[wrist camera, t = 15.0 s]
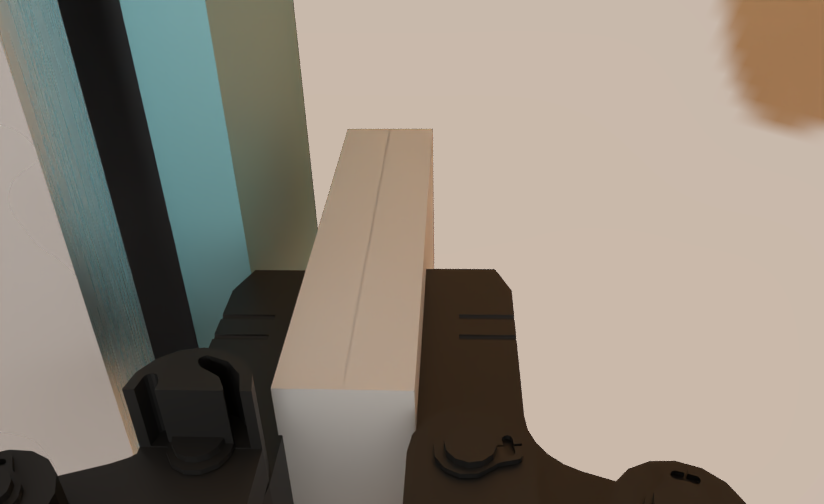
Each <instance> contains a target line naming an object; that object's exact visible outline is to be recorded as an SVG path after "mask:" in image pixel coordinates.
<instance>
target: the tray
mask: <svg viewBox="0 0 824 504" xmlns="http://www.w3.org/2000/svg"><path fill="white" fill-rule="evenodd" d="M57 2H58V5H59V9H60V13H61V16H62V20H63V24H64V27H65V31H66V35H67V38H68V42H69V46H70V49H71V53H72V57H73V60H74V64H75V68H76V71H77V75H78V79H79V82H80V86H81V90H82V94H83V97H84V101H85V105H86V108H87V112H88V116H89V119H90V123H91V127H92V130H93V134H94V138H95V141H96V145H97V149H98V152H99V156H100V160H101V163H102V167H103V171H104V174H105V178H106V182H107V185H108V189H109V193H110V196H111V200H112V204H113V207H114V211H115V215H116V218H117V222H118V226H119V230H120V233H121V237H122V241H123V244H124V248H125V252H126V255H127V259H128V263H129V266H130V270H131V274H132V277H133V281H134V285H135V288H136V292H137V296H138V299H139V303H140V307H141V310H142V314H143V318H144V321H145V325H146V329H147V332H148V336H149V340H150V343H151V347H152V351H153V354H154V358H155V359H157V358H160V357H163V356H165V355H168V354H171V353H174V352H177V351H179V350H187V349H196V348H204V347H205V348H209V345H210V343H211V341H212V339H214V337H215V335H214V334H215V331H216V329H217V327H218V324H219V322H220V319H223V312H224V310H225V308H226V305H227V303H228V301H229V298H230V296H231V294H232V291H233V290H234V289H235V288H236V287H237V286H238V285H239V284H240V283H242V282H243V281H244V280H245V279H246V278H247V277H248V276H249V275H250V274H252V273H253V272H254V271H255V270H306V268H307V265H308V261H309V258H310V255H311V251H312V248H313V245H314V241H315V238H316V235H317V231H318V227H317V218H316V209H315V200H314V190H313V181H312V172H311V162H310V153H309V143H308V135H307V125H306V115H305V107H304V97H303V87H302V78H301V69H300V59H299V51H298V41H297V32H296V22H295V14H294V3H293V0H57Z"/></svg>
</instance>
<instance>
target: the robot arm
mask: <svg viewBox="0 0 824 504" xmlns="http://www.w3.org/2000/svg"><path fill="white" fill-rule="evenodd" d="M214 335H215V337H214V339H212V341H211V343H210V345H209V348H205V347H204V348H196V349H187V350H179V351H177V352H174V353H171V354H168V355H165V356H163V357H160V358H157V359H155V360H154V361H152V362H150V363H149V364H147V365H146V366H144V367H143V368H141V369H140V370H138V371H137V372H135V374H134V375H133V376H132V377H131V379H130V380H129V381H128V382H127V384H126V385H125V386H124V387H123V388H122V391H123V394H124V398H125V401H126V404H127V407H128V410H129V414H130V417H131V420H132V423H133V426H134V430H135V433H136V436H137V439H138V443H139V446H140V448H139V450H138V452H137V454H135V455H133V456H131V457H129V458H126V459H123V460H119V461H116V462H113V463H110V464H106V465H102V466H98V467H93V468H89V469H85V470H80V471H76V472H72V473H68V474H63V475H59V476H58V475H57V473H56V471H55V469H54V468H53V466H52V464H51V462H50V461H49V459H47V458H45V457H43V456H41V455H39V454H37V453H35V452H33V451H25V450H5V451H1V452H0V504H746V503H745V502H744V501H743V500H742V499H741V498H740V497H739V495H737V493H736V492H735V491H734V490H733V489H732V488H731V487H730V486H729V485H728V484H727V483H726V482H724V481H723V480H721V479H719V478H717V477H716V476H714V475H712V474H710V473H709V472H707V471H705V470H704V469H702V468H698V467H695V466H691V465H688V464H684V463H680V462H676V461H649V462H646V463H644V464H641V465H638V466H635V467H633V468H630V469H628V470H627V471H626V472H625V473H624V474H623V475H622V476H621V477H620V478H619V479H618V480H617V481H612V480H609V479H606V478H602V477H599V476H595V475H592V474H589V473H585V472H582V471H579V470H577V469H574V468H572V467H569V466H567V465H564V464H562V463H561V462H559V461H557V460H556V459H554V458H553V457H551V456H550V455H548V454H547V453H546V452H545V451H544V450H543V449H542V448H541V447H540V446H539V445H538V444H537V443H536V442H535V441H534V439H533V437H532V436H531V434H530V433H529V431H528V429H527V426H526V422H525V418H524V412H523V402H522V392H521V381H520V372H519V362H518V352H517V343H516V331H515V322H514V311H513V301H512V291H511V289H510V288H509V287H508V286H507V284H506V283H505V282H504V280H503V279H502V278H501V277H500V275H499V274H498V273H497V272H496V270H494V269H492V270H491V269H490V270H489V269H487V270H486V269H434V212H433V130H432V129H348V131H347V134H346V137H345V141H344V144H343V147H342V151H341V154H340V157H339V161H338V164H337V167H336V171H335V174H334V178H333V181H332V184H331V188H330V191H329V194H328V198H327V201H326V204H325V208H324V211H323V215H322V218H321V221H320V225H319V228H318V231H317V235H316V238H315V241H314V245H313V248H312V251H311V255H310V258H309V261H308V265H307V268H306V270H255V271H254V272H253V273H252V274H250V275H249V276H248V277H247V278H246V279H245V280H244V281H243V282H242V283H240V284H239V285H238V286H237V287H236V288H235V289H234V290H233V291H232V294H231V296H230V298H229V301H228V303H227V305H226V308H225V310H224V312H223V319H220V322H219V324H218V327H217V329H216V331H215V334H214Z"/></svg>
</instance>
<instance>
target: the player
mask: <svg viewBox="0 0 824 504" xmlns="http://www.w3.org/2000/svg"><path fill="white" fill-rule="evenodd" d="M154 360H155V358H154V354H153V351H152V347H151V343H150V340H149V336H148V332H147V329H146V325H145V321H144V318H143V314H142V310H141V307H140V303H139V299H138V296H137V292H136V288H135V285H134V281H133V277H132V274H131V270H130V266H129V263H128V259H127V255H126V252H125V248H124V244H123V241H122V237H121V233H120V230H119V226H118V222H117V218H116V215H115V211H114V207H113V204H112V200H111V196H110V193H109V189H108V185H107V182H106V178H105V174H104V171H103V167H102V163H101V160H100V156H99V152H98V149H97V145H96V141H95V138H94V134H93V130H92V127H91V123H90V119H89V116H88V112H87V108H86V105H85V101H84V97H83V94H82V90H81V86H80V82H79V79H78V75H77V71H76V68H75V64H74V60H73V57H72V53H71V49H70V46H69V42H68V38H67V35H66V31H65V27H64V24H63V20H62V16H61V13H60V9H59V5H58V2H57V0H0V452H1V451H5V450H25V451H33V452H35V453H37V454H39V455H41V456H43V457H45V458H47V459H49V461H50V462H51V464H52V466H53V468H54V469H55V471H56V473H57V475H58V476H59V475H63V474H68V473H72V472H76V471H80V470H85V469H89V468H93V467H98V466H102V465H106V464H110V463H113V462H116V461H119V460H123V459H126V458H129V457H131V456H133V455H135V454H137V452H138V450H139V448H140V446H139V443H138V439H137V436H136V433H135V430H134V426H133V423H132V420H131V417H130V414H129V410H128V407H127V404H126V401H125V398H124V394H123V391H122V388H123V387H124V386H125V385H126V384H127V382H128V381H129V380H130V379H131V377H132V376H133V375H134V374H135V372H137V371H138V370H140V369H141V368H143V367H144V366H146V365H147V364H149V363H150V362H152V361H154Z"/></svg>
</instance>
